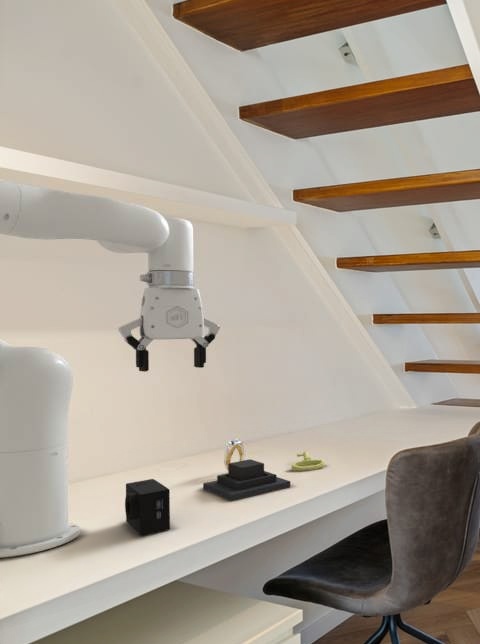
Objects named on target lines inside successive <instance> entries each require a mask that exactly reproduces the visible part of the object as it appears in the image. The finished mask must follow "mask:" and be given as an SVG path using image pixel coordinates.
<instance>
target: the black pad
mask: <svg viewBox="0 0 480 644" xmlns="http://www.w3.org/2000/svg"><path fill="white" fill-rule="evenodd" d="M228 471H229V472H228ZM228 471H227V472H228V473H229V477H230V478H233V479H235V480H238V481H245V480H249V479H254V478H259V477H263V476H264V471H265V463H264V462H260V461H257V460H254V459H245V460H244V461H240V460H238V461H234V462H230V463H228Z"/></svg>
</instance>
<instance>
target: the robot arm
mask: <svg viewBox="0 0 480 644" xmlns="http://www.w3.org/2000/svg"><path fill="white" fill-rule="evenodd" d="M0 235H5V236H10V237H11V236H12V237H17V238H22V239H30V240H31V239H33V240H48V241H49V240H50V241H51V240H89V241H96V242H97V243H98V244H99V246H101V247H102V248H104V249H105V250H107V251H109V252H112V253H116V254H139V253H140V254H143V253H144V254H147V262H148V265H147V266H148V267H147V268H148V271H147V272H146V273H145V274H140V275H139V281H140V282H144V283H146V285H147V286H148V287H145V288H144V291H143V293H142V299H141V304H140V305H141V306H140V313H139V317H138V318H136V319H134V320H132V321H130V322H127V323H126V324H123V325H121V326H119V327H118V328H117V329H118V332H119V333H120V335H121V337H122V338H123V339H124V342H125V343H127V344H128V345H129V346H130V347H131V348H133V350H135V367H136V368H138V372H148V371H149V369H150V367H149V363H150V362H149V359H150V358H149V357H150V356H149V354H150V352H149V350H148V349H147V347H148V346H149V345H150V344H151V343H152V342H153V341H154V340H158V341H159V340H164V341H165V340H191V341H192V342H193V344H195V347H194V348H193V367H195V368H200V369H201V368H204V367H205V364H206V363H207V348H208V347H209V345H210V344H211V343H212V342H213V341H214V340H215V339H216V336H217V335H218V333H219V331H220V329H221V326H220V325H219V324H217V323H215V322H213V321H211V320H208V319H207V318H204V310H203V303H202V297H201V293H200V289H199V288H195V281H194V279H195V277H194V274H195V272H194V271H195V268H194V263H195V262H194V260H195V259H194V226H193V224H192V222H190V221H189V220H187V219H185V218H179V217H171V216H169V217H168V216H163V215H162V214H161V213H160V212H158V211H157V210H154V209H153V208H149V207H147V206H143V205H140V204H136V203H131V202H126V201H123V200H118V199H115V198H114V199H113V198H109V197H104V196H99V195H98V196H97V195H91V194H83V193H76V192H69V191H64V190H58V189H50V188H44V187H43V188H42V187H37V186H34V185H28V184H23V183H19V182H15V181H11V180H7V179H6V180H5V179H2V178H0ZM138 327H139V336H140V337H139V338H138V339H137V338H136V337H135V336H133V334H132V330H135V329H137V328H138ZM205 328H207V329H208V333H207V334H206V335H205ZM204 335H205V336H204ZM72 371H73V370H72V369H71V366H70V364H69V363H68V361H67V360H66V359H65V358H64V357H63V356H62V355H60V354H59V353H58V352H55V351H54V350H51V349H48V348H44V347H37V346H15V345H13V344H11V343H9V342H7V341H5V340H3V339H1V338H0V558H8V557H9V558H10V557H18V556H25V555H30V554H34V553H38V552H43V551H46V550H49V549H53V548H56V547H59V546H61V545H65V544H67V543H69V542H71V541H73V540H74V539H76V538H77V537H78V536H79V535H80V534H81V527H80V525H79V524H77V523H73V522H69V466H68V465H69V456H68V454H69V451H68V447H69V445H68V444H69V442H68V420H69V419H68V418H69V409H70V401H71V396H72V392H73V391H72V390H73V383H74V382H73V381H74V380H73V379H74V378H73V377H74V376H73V373H72Z"/></svg>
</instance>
